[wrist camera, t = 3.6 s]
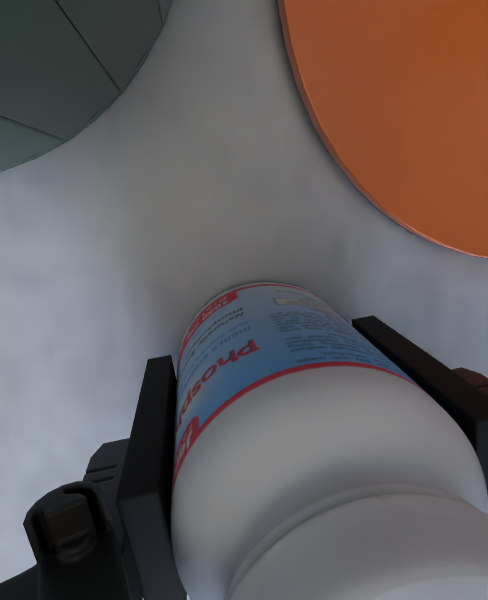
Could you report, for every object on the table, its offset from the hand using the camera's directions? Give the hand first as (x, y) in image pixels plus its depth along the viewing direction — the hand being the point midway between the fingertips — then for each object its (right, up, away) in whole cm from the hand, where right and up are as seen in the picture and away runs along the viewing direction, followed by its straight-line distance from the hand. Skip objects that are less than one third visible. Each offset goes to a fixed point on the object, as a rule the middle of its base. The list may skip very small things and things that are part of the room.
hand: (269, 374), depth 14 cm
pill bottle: (0, 0, +2) cm, 2 cm away
